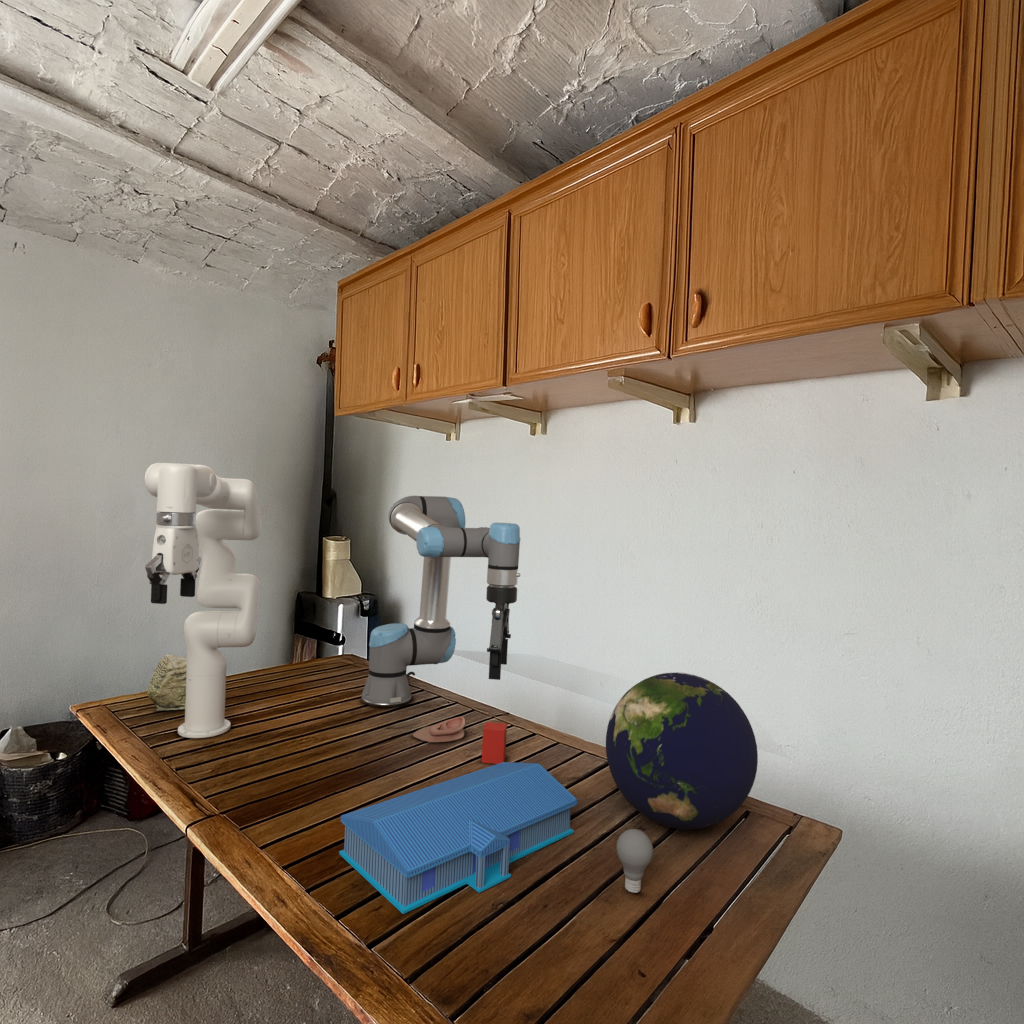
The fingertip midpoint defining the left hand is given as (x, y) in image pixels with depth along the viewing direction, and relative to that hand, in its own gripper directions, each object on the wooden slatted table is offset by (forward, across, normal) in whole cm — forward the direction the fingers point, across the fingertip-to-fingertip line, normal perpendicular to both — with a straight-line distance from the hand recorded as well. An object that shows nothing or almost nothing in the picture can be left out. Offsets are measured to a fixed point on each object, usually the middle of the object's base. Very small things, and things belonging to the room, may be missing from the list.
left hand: (173, 599), depth 137 cm
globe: (+40, +4, -109) cm, 116 cm away
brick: (+40, +26, -68) cm, 83 cm away
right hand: (+18, +26, -68) cm, 75 cm away
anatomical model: (+40, +39, -52) cm, 76 cm away
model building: (+40, -14, -68) cm, 80 cm away
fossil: (+40, +45, +26) cm, 65 cm away
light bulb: (+40, -22, -98) cm, 108 cm away
